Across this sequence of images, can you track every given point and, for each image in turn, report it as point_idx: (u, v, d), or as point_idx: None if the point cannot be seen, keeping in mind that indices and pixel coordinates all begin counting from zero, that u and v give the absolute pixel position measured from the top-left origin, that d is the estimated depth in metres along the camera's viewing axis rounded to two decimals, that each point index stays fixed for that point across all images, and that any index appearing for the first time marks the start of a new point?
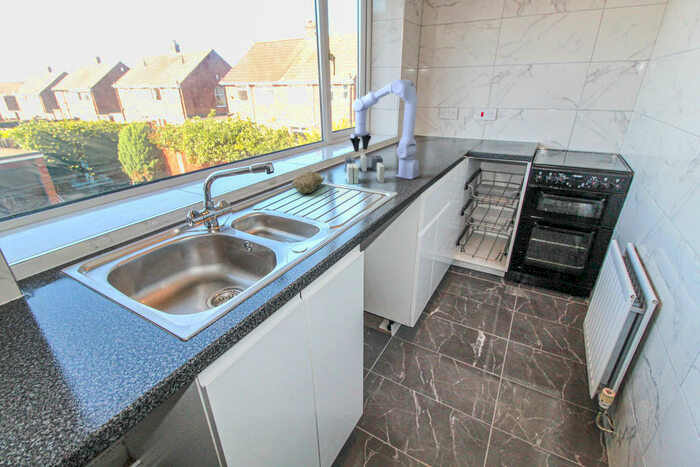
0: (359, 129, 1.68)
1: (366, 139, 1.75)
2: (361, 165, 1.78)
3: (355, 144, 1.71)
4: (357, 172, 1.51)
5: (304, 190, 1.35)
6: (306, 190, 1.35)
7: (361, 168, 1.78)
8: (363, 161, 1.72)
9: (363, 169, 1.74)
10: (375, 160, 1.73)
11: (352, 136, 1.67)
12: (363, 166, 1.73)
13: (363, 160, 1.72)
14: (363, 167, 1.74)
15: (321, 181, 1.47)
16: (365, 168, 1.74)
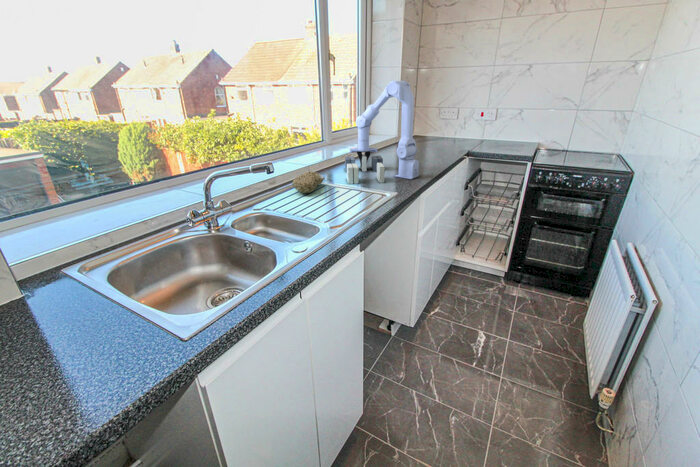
0: (358, 145, 1.72)
1: None
2: None
3: None
4: (357, 172, 1.51)
5: (304, 190, 1.35)
6: (306, 190, 1.35)
7: (361, 168, 1.78)
8: (363, 161, 1.72)
9: (363, 169, 1.74)
10: (375, 160, 1.73)
11: None
12: (363, 166, 1.73)
13: (363, 160, 1.72)
14: (363, 167, 1.74)
15: (321, 181, 1.47)
16: (365, 168, 1.74)
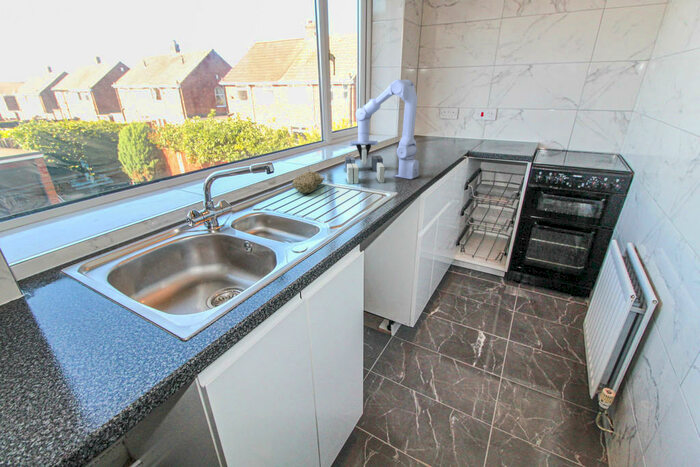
0: (358, 138, 1.70)
1: (366, 149, 1.73)
2: None
3: None
4: (357, 172, 1.51)
5: (304, 190, 1.35)
6: (306, 190, 1.35)
7: (361, 161, 1.77)
8: (363, 154, 1.71)
9: (363, 162, 1.72)
10: (375, 160, 1.73)
11: None
12: (363, 159, 1.72)
13: (363, 153, 1.71)
14: (363, 160, 1.72)
15: (321, 181, 1.47)
16: (365, 161, 1.72)
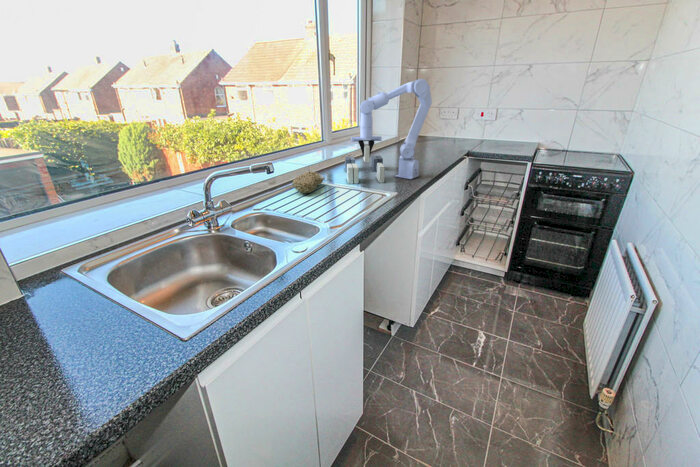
0: (361, 133, 1.55)
1: (369, 145, 1.58)
2: None
3: None
4: (357, 172, 1.51)
5: (304, 190, 1.35)
6: (306, 190, 1.35)
7: None
8: (366, 151, 1.56)
9: (366, 160, 1.57)
10: (375, 160, 1.73)
11: (351, 139, 1.57)
12: (366, 157, 1.57)
13: (366, 150, 1.55)
14: (365, 157, 1.57)
15: (321, 181, 1.47)
16: (368, 159, 1.57)
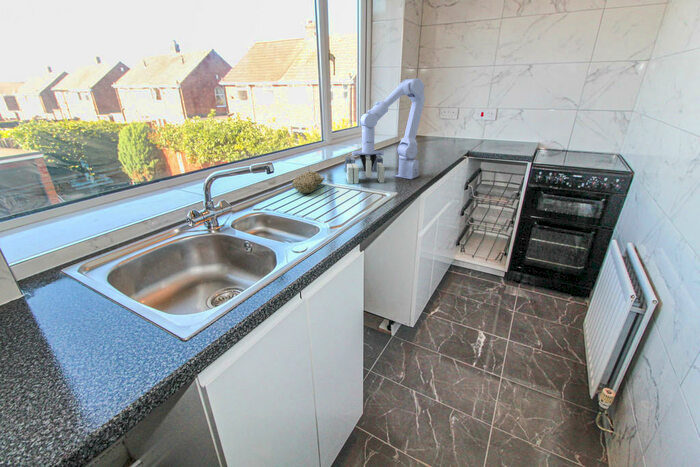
0: (362, 147, 1.50)
1: None
2: None
3: None
4: (357, 172, 1.51)
5: (304, 190, 1.35)
6: (306, 190, 1.35)
7: (365, 174, 1.56)
8: (367, 166, 1.50)
9: (367, 175, 1.52)
10: (375, 160, 1.73)
11: (352, 154, 1.51)
12: (367, 172, 1.51)
13: (367, 165, 1.50)
14: (367, 172, 1.51)
15: (321, 181, 1.47)
16: (370, 174, 1.51)
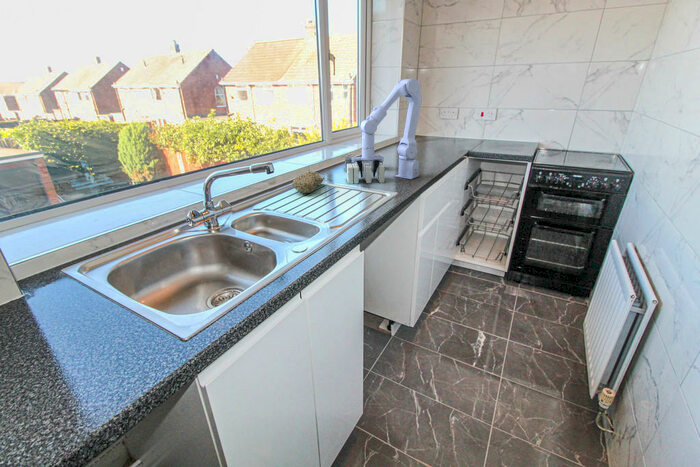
0: (362, 153, 1.51)
1: (374, 165, 1.54)
2: (365, 176, 1.56)
3: None
4: (357, 172, 1.51)
5: (304, 190, 1.35)
6: (306, 190, 1.35)
7: (365, 179, 1.57)
8: (367, 171, 1.51)
9: (367, 180, 1.53)
10: None
11: (352, 160, 1.52)
12: (367, 177, 1.52)
13: (367, 170, 1.51)
14: (367, 178, 1.52)
15: (321, 181, 1.47)
16: (370, 179, 1.53)
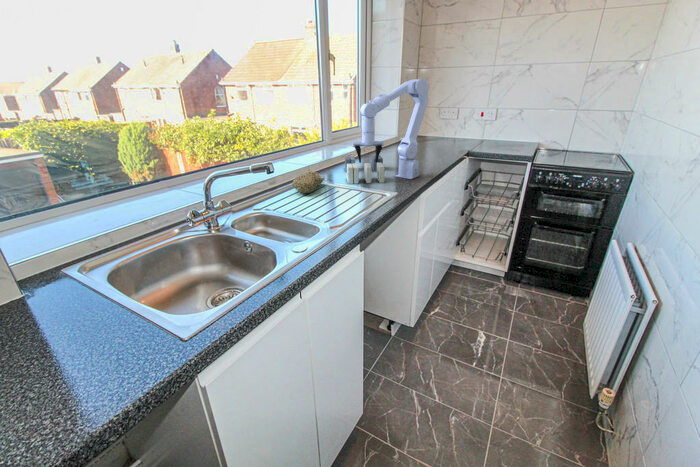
0: (362, 138, 1.48)
1: (376, 150, 1.51)
2: (365, 176, 1.56)
3: None
4: (357, 172, 1.51)
5: (304, 190, 1.35)
6: (306, 190, 1.35)
7: (365, 179, 1.57)
8: (367, 171, 1.51)
9: (367, 180, 1.53)
10: None
11: (352, 145, 1.50)
12: (367, 177, 1.52)
13: (367, 170, 1.51)
14: (367, 178, 1.52)
15: (321, 181, 1.47)
16: (370, 179, 1.53)
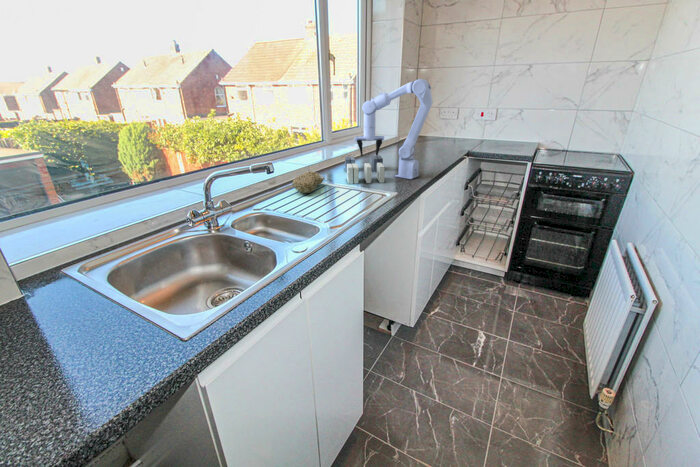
0: (364, 132, 1.60)
1: (376, 144, 1.63)
2: (365, 176, 1.56)
3: None
4: (357, 172, 1.51)
5: (304, 190, 1.35)
6: (306, 190, 1.35)
7: (365, 179, 1.57)
8: (367, 171, 1.51)
9: (367, 180, 1.53)
10: (375, 160, 1.73)
11: None
12: (367, 177, 1.52)
13: (367, 170, 1.51)
14: (367, 178, 1.52)
15: (321, 181, 1.47)
16: (370, 179, 1.52)
